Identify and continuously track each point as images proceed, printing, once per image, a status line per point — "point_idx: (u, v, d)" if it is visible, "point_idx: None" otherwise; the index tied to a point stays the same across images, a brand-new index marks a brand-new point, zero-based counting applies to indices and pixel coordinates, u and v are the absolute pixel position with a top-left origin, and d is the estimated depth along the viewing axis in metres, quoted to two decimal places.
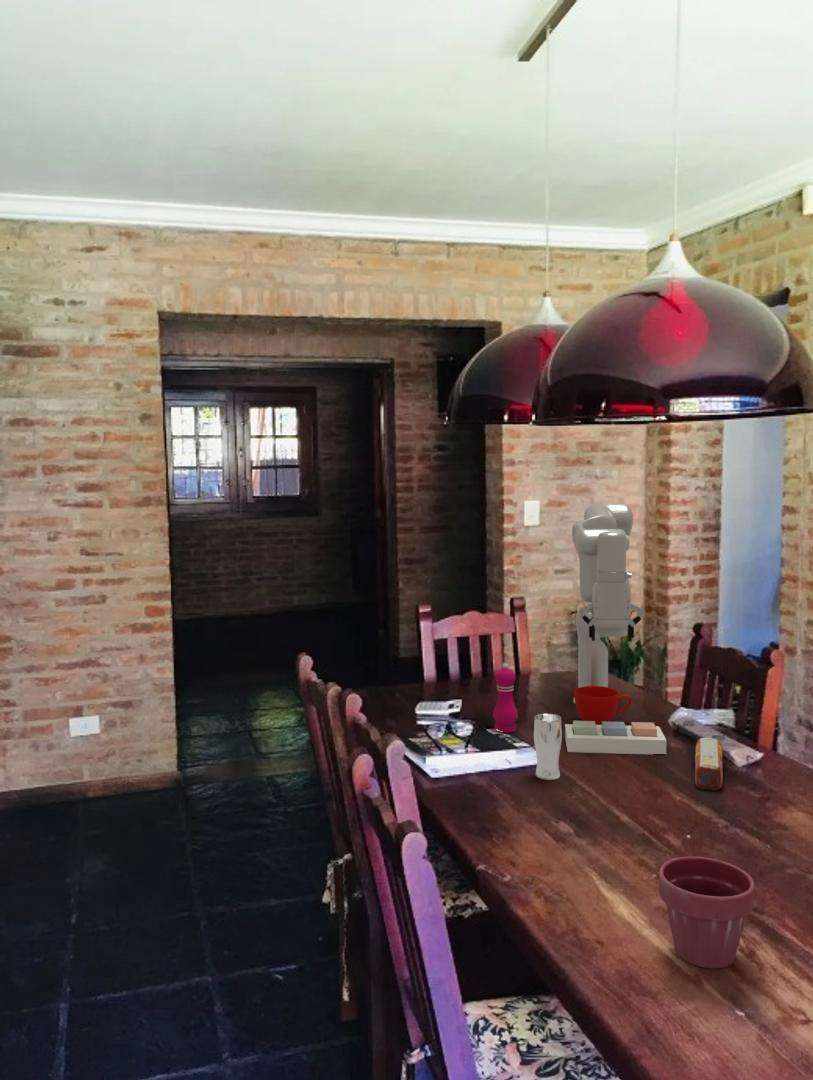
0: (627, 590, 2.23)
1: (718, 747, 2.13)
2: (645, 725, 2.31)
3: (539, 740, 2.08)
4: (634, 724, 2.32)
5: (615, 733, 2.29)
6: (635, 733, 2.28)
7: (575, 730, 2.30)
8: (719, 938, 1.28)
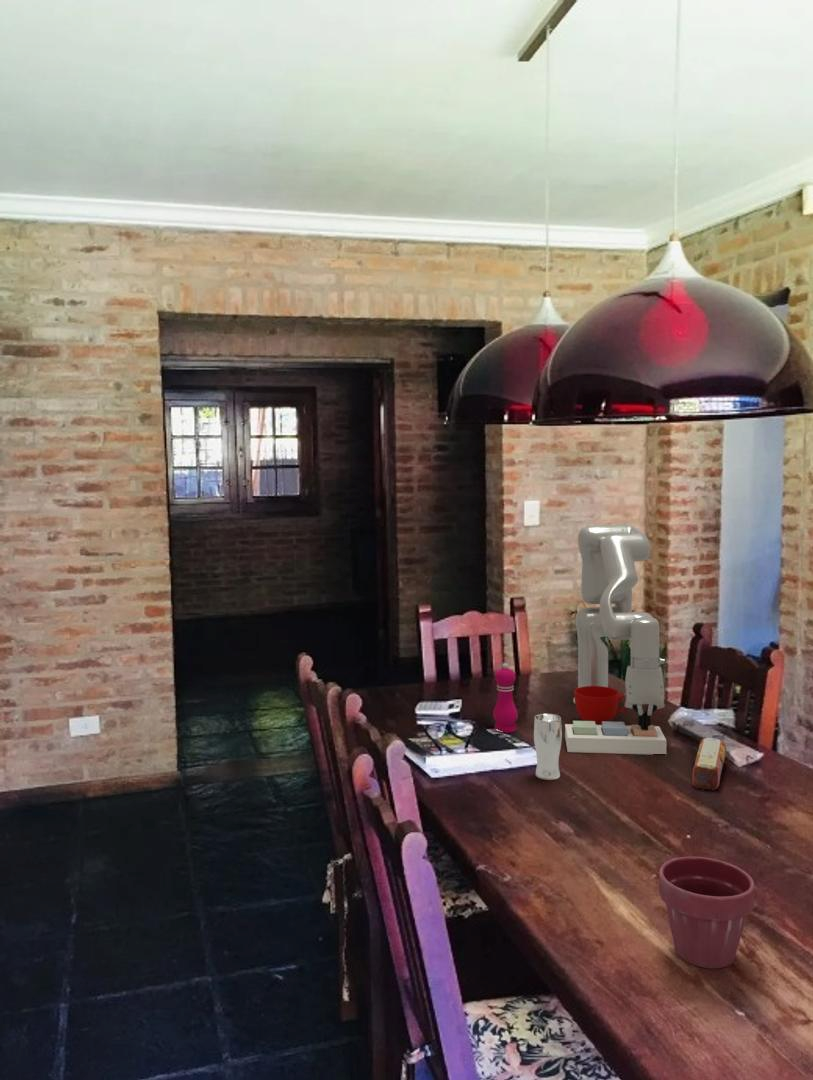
0: (660, 676, 2.27)
1: (720, 747, 2.13)
2: None
3: (539, 740, 2.08)
4: (634, 727, 2.32)
5: (615, 733, 2.29)
6: None
7: (575, 730, 2.30)
8: (719, 938, 1.28)
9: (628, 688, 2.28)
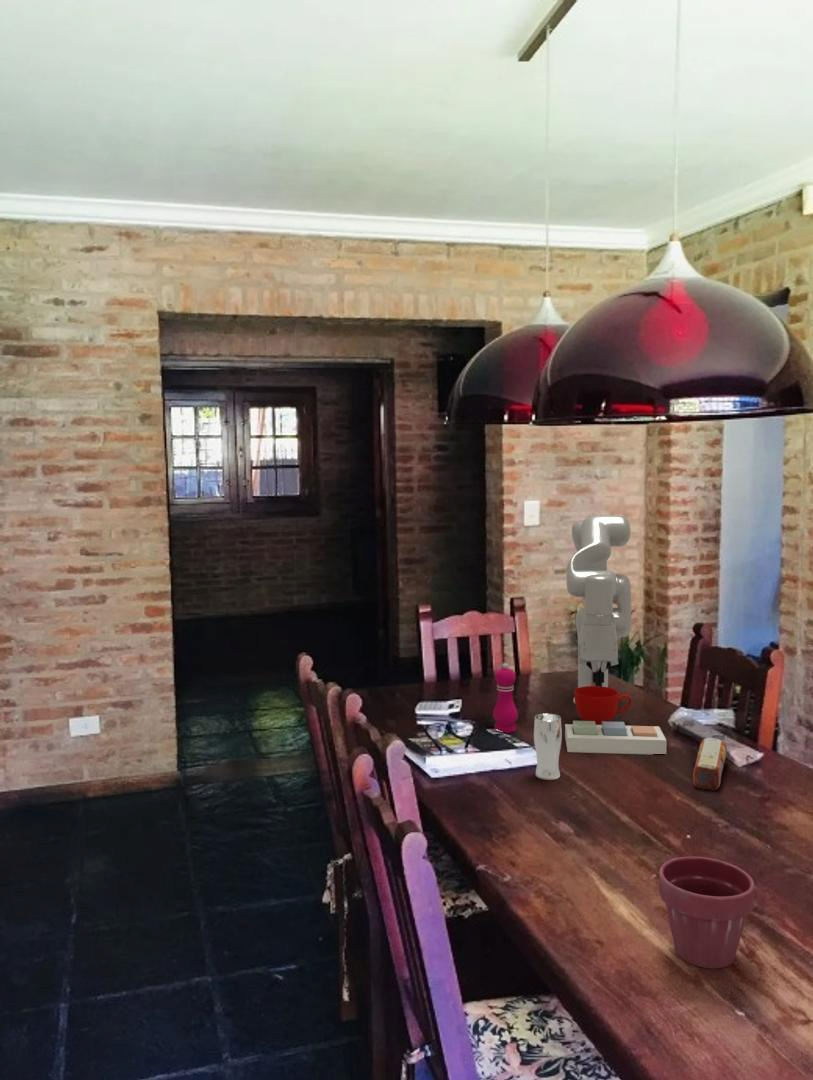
0: (614, 632, 2.28)
1: (721, 748, 2.13)
2: (645, 728, 2.31)
3: (539, 740, 2.08)
4: (634, 728, 2.32)
5: (615, 733, 2.29)
6: None
7: (575, 730, 2.30)
8: (719, 938, 1.28)
9: (582, 645, 2.29)
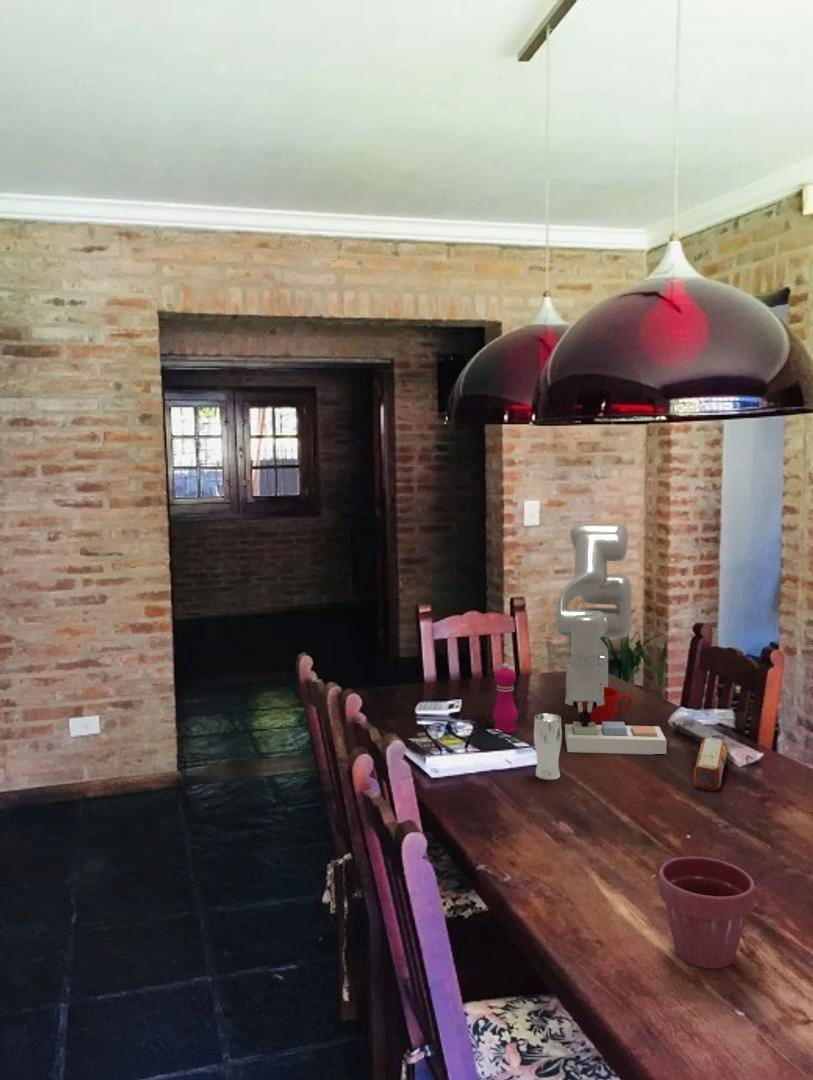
0: (600, 673, 2.29)
1: (721, 748, 2.12)
2: (645, 728, 2.31)
3: (539, 740, 2.08)
4: (634, 728, 2.32)
5: (615, 733, 2.29)
6: None
7: (575, 731, 2.30)
8: (719, 938, 1.28)
9: (568, 685, 2.30)
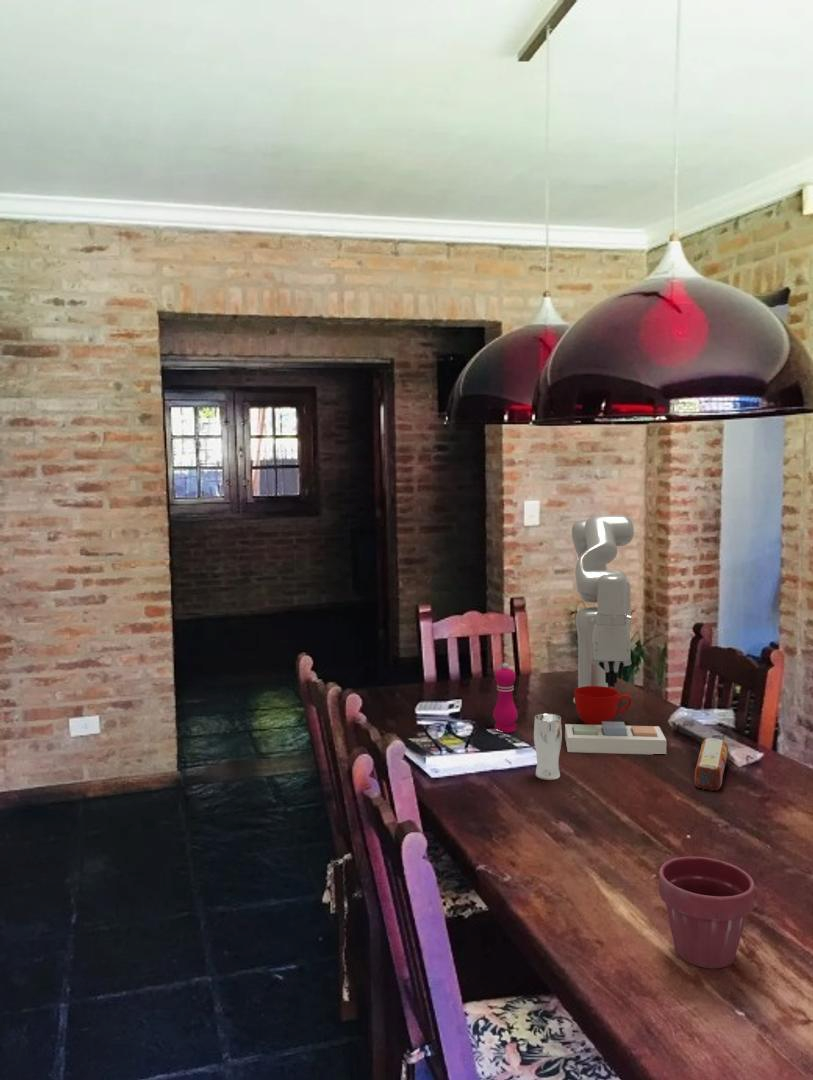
0: (627, 633, 2.27)
1: (722, 748, 2.12)
2: (645, 728, 2.31)
3: (539, 740, 2.08)
4: (634, 728, 2.32)
5: (615, 733, 2.29)
6: None
7: (575, 734, 2.30)
8: (719, 938, 1.28)
9: (594, 645, 2.29)
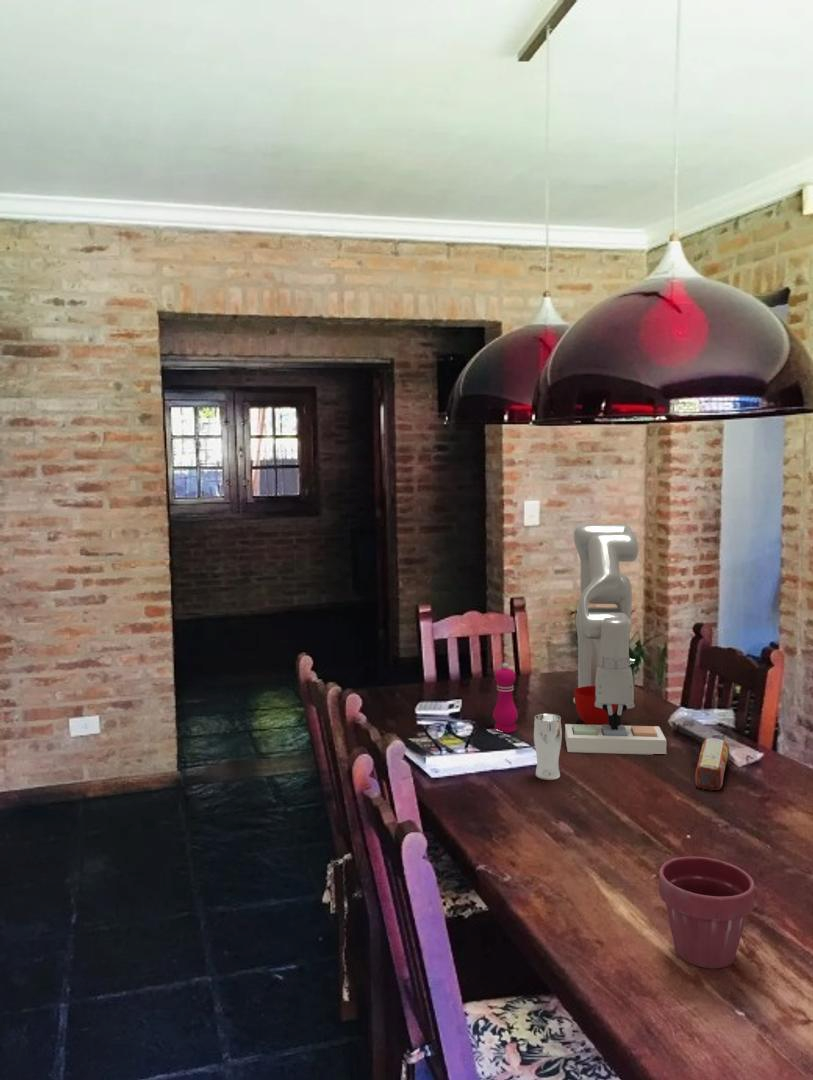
0: (630, 676, 2.28)
1: (723, 748, 2.12)
2: (645, 728, 2.31)
3: (539, 740, 2.08)
4: (634, 728, 2.32)
5: None
6: None
7: (575, 734, 2.30)
8: (719, 938, 1.28)
9: (598, 688, 2.29)
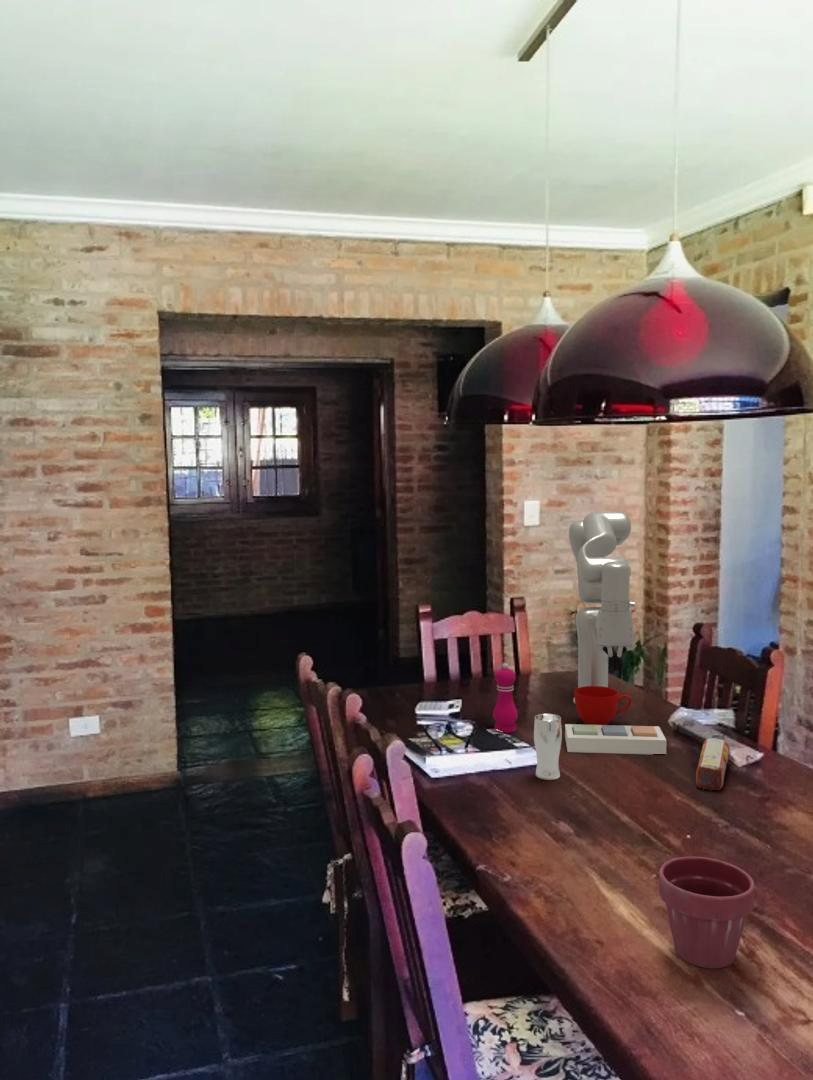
0: (630, 619, 2.33)
1: (724, 748, 2.12)
2: (645, 728, 2.31)
3: (539, 740, 2.08)
4: (634, 728, 2.32)
5: None
6: None
7: (575, 734, 2.30)
8: (719, 938, 1.28)
9: (598, 630, 2.34)
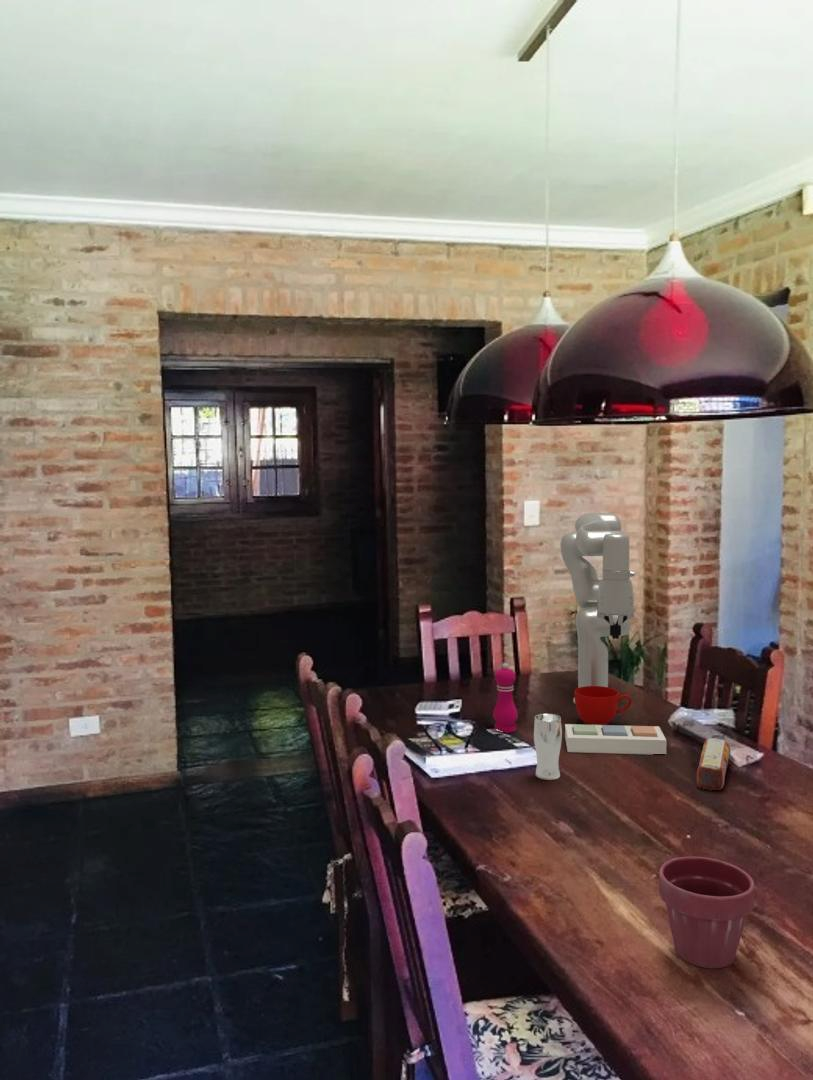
0: (630, 587, 2.42)
1: (724, 748, 2.12)
2: (645, 728, 2.31)
3: (539, 740, 2.08)
4: (634, 728, 2.32)
5: None
6: None
7: (575, 734, 2.30)
8: (719, 938, 1.28)
9: (600, 599, 2.43)
